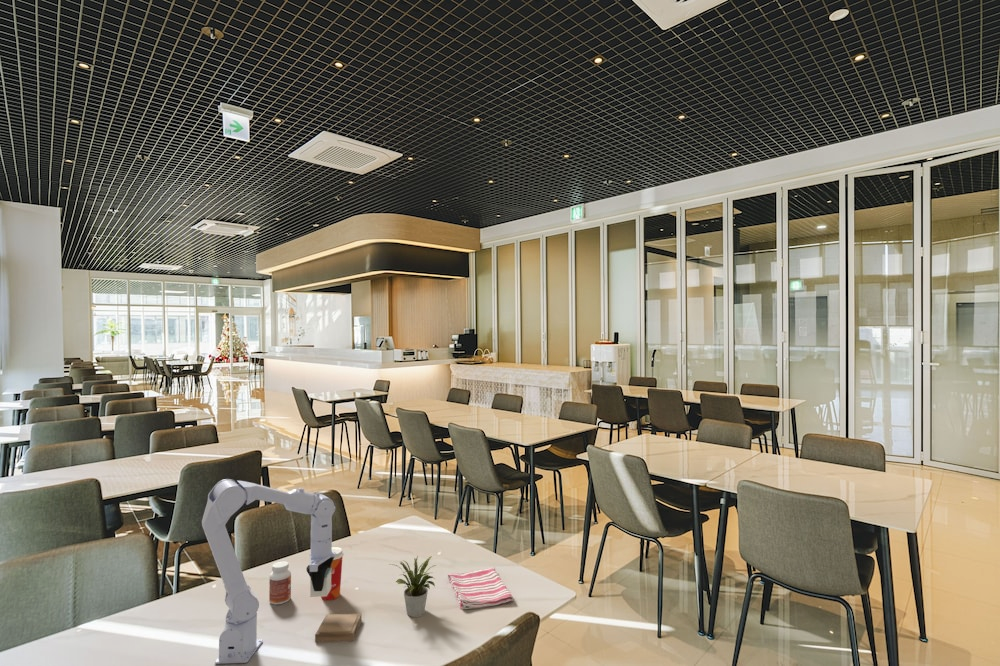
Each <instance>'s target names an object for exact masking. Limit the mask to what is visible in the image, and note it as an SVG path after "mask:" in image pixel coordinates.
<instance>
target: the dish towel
mask: <svg viewBox="0 0 1000 666" xmlns="http://www.w3.org/2000/svg"><path fill="white" fill-rule="evenodd" d="M447 578H448V581H449V583H450V585H451V588H452V589H453V592H454V596H455V597H456V601H457V604H458V606H459V609H460V610H469V609H471V610H472V609H479V608H480V609H483V608H487V607H493V606H498V605H502V604H507V603H506V602H509V603H513V602H514V596H513V595H512V593H511V591H510V590H509V589H508V588H507V585H506V584H505V582H504V581H503V580H502V578H501V576H500V575H499V573H497V571H496V567H490V568H487V569H486V568H485V569H477V570H470V571H464V572H460V573H459V572H458V573H457V572H456V573H447Z"/></svg>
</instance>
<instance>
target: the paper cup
mask: <svg viewBox="0 0 1000 666" xmlns="http://www.w3.org/2000/svg"><path fill="white" fill-rule="evenodd" d="M332 552H336V555H335V557H334V559H333V561H332V564H331V567H330V568H332V571H331V590H330V592H329V593H328V595H327V596H324V597H321V599H322V600H323V601H332V600H335V599H338V598H339V597H340V595H341V583H342V573H343V572H342V571H343V570H342V569H343V556H344V554H345V553H344V552H343V549H342V548H341V547H337V546H335V547H334V546H332Z"/></svg>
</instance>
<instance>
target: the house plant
mask: <svg viewBox="0 0 1000 666" xmlns="http://www.w3.org/2000/svg"><path fill="white" fill-rule="evenodd" d="M418 556H419V555H417V556H416V557H414V564H413V565H414V570H412V569H411V567H410V566H409V564H408V562H407V561H405V560H404V559H403V560H402V561H399V564H400V565H401V566H402V567H403V569H404V570H402V568H401V567H400V566H399V565H397V564H391V563H389V564H388V565H392V566H395V567H398V568H399V569H401V571H402V574H399V576H403V577H404V578H405V579H406V580H404V579H402V578H399V579H397V580H396V581H395V583H397V585H400V584H404V585H405V586H404V588H405V589H404V591H403V597H404V598H403V599H404V603H405V609H406V610H405V611H406V615H407V616H408V617H412V618H418V617H422V616H423V615H424V614H425V611H426V604H427V599H428V591H429V590H430V585H432V586H433V587H436V585H435V582H434V581H432V580H430V579H434V580H436V578H435V577H434V576H431V575H430V572H428V571H429V570H431V568H433V567H435V566H437V565H435V564H434V565H432V566H430V567H429V568H427V567H428V565H429V562H430V560H431V558H432V555H431V556H429V557H428V558H426V560H425V561H424V562H422V563H421V564H420V566H418V558H419V557H418ZM404 562H405V563H404ZM405 564H406V565H405ZM426 568H427V570H426ZM425 570H426V571H425ZM432 573H433V572H431V574H432ZM406 574H407V575H406ZM406 581H407V582H406Z"/></svg>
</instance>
